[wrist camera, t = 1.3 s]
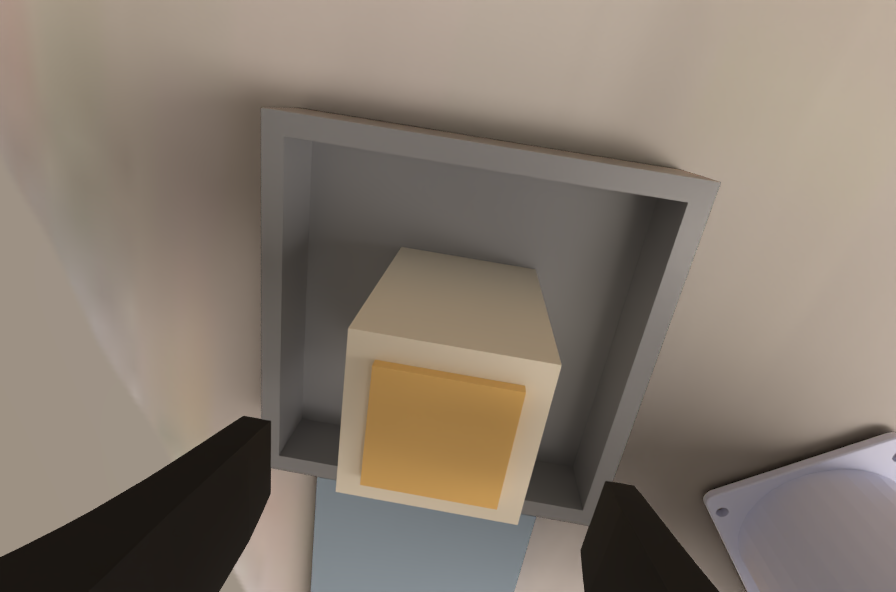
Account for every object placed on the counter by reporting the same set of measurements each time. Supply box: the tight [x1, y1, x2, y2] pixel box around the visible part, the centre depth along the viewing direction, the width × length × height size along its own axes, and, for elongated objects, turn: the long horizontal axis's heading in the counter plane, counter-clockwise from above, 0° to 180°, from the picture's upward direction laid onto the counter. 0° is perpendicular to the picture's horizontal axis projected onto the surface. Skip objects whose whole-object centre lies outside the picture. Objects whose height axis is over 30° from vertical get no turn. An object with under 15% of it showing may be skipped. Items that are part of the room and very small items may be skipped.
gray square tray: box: [261, 107, 721, 526], centre depth 17 cm, size 13×13×3 cm
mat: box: [311, 477, 536, 592], centre depth 24 cm, size 10×10×1 cm
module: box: [336, 247, 562, 525], centre depth 15 cm, size 5×5×7 cm
